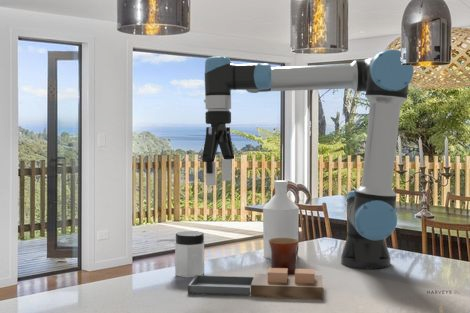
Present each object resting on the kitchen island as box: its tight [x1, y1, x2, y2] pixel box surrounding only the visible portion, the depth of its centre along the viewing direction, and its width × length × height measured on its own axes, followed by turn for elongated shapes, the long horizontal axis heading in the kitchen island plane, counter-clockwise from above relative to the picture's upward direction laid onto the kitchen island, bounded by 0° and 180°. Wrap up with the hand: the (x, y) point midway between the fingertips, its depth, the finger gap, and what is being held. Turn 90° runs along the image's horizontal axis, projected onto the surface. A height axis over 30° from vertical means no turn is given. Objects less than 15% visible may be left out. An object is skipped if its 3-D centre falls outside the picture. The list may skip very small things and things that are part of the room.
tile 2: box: [295, 268, 316, 283], centre depth 156 cm, size 5×5×2 cm
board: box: [250, 273, 324, 300], centre depth 156 cm, size 18×12×3 cm, turn 83°
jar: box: [174, 230, 205, 279], centre depth 175 cm, size 9×8×12 cm
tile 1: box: [267, 267, 288, 283], centre depth 156 cm, size 5×5×2 cm
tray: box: [187, 274, 254, 297], centre depth 159 cm, size 16×11×2 cm
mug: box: [269, 238, 300, 275], centre depth 174 cm, size 12×9×10 cm
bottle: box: [262, 179, 300, 260], centre depth 199 cm, size 12×12×25 cm
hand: (219, 182), depth 176 cm, fingers open, 13 cm apart
